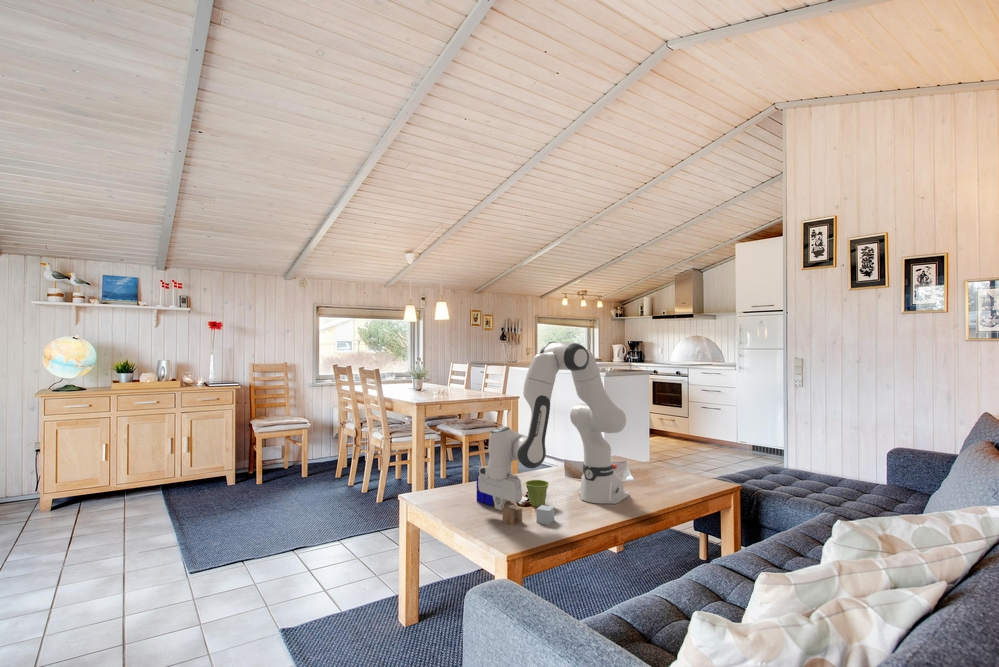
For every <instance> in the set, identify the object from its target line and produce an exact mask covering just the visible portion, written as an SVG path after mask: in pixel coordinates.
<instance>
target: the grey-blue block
mask: <svg viewBox="0 0 999 667" xmlns="http://www.w3.org/2000/svg"><path fill="white" fill-rule="evenodd" d="M554 521H555V506H550V505H546V504H545V505H541V506H538V507H537V508H536V523H537V524H543V525H549V526H550V525H551V524H552V523H553V522H554Z"/></svg>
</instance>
